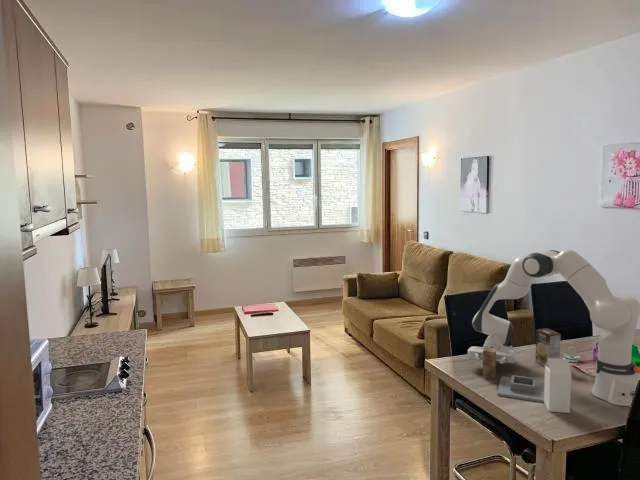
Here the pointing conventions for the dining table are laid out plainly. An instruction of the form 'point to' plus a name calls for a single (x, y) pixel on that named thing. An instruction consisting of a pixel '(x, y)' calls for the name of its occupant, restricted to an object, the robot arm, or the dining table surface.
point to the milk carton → (557, 385)
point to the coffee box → (547, 345)
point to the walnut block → (489, 362)
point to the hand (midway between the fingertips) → (489, 360)
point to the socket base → (521, 388)
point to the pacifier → (571, 355)
